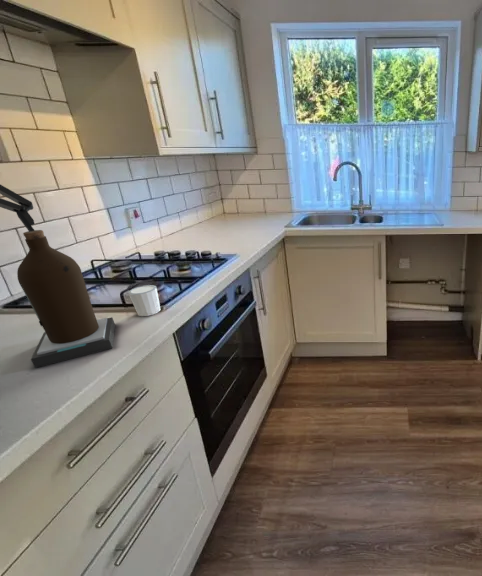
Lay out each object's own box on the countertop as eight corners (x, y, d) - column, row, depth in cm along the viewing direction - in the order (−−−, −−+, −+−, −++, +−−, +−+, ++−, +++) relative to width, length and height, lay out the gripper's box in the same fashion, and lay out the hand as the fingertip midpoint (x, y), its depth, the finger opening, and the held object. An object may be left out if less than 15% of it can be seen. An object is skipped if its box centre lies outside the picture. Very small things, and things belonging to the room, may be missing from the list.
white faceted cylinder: (147, 318, 100) (139, 295, 97) (129, 315, 102) (121, 292, 99) (168, 308, 106) (162, 286, 103) (151, 305, 108) (144, 283, 105)
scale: (35, 368, 79) (29, 356, 78) (47, 340, 90) (42, 330, 89) (112, 348, 86) (108, 337, 85) (115, 325, 97) (111, 315, 96)
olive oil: (108, 319, 93) (73, 224, 83) (93, 339, 84) (51, 234, 74) (58, 327, 90) (15, 228, 80) (36, 349, 80) (-15, 240, 71)
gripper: (-161, 173, 69) (-85, 266, 72) (5, 145, 85) (63, 222, 88) (-142, 191, 75) (-72, 277, 77) (11, 162, 91) (65, 234, 94)
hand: (0, 248), depth 83 cm, fingers open, 13 cm apart
